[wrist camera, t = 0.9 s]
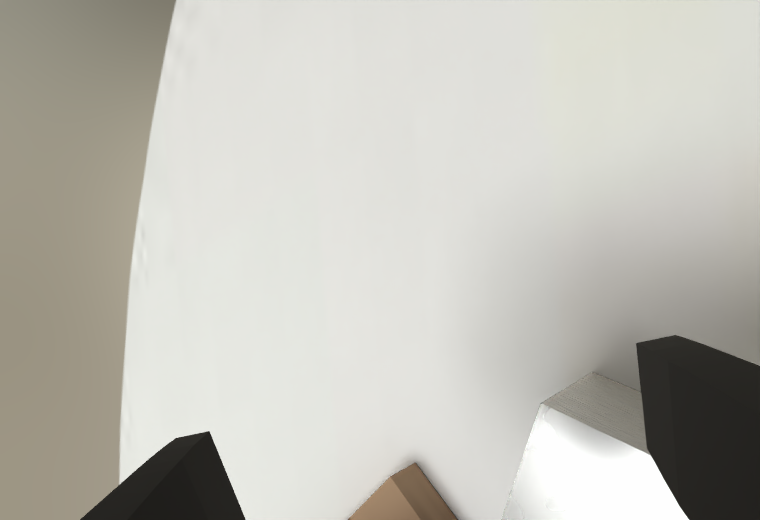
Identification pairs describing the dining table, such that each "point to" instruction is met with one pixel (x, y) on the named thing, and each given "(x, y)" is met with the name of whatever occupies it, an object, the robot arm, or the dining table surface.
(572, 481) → the steel billet
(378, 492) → the brown board with cutouts
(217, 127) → the dining table surface
